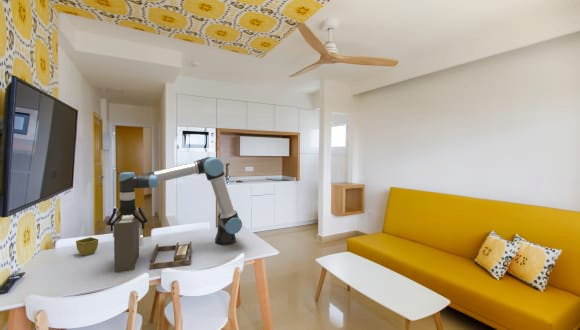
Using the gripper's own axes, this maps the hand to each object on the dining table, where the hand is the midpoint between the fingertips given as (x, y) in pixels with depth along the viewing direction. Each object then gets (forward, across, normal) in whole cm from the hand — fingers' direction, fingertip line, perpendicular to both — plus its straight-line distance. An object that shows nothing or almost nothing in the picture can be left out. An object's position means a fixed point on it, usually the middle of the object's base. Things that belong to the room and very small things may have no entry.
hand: (128, 235), depth 155 cm
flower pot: (+17, +27, -23) cm, 39 cm away
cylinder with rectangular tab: (+17, +2, -33) cm, 37 cm away
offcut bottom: (+18, -29, 0) cm, 34 cm away
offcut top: (+14, -29, 0) cm, 32 cm away
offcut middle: (+16, -29, 0) cm, 33 cm away
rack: (+17, -24, 0) cm, 29 cm away
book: (+17, 0, 0) cm, 17 cm away
